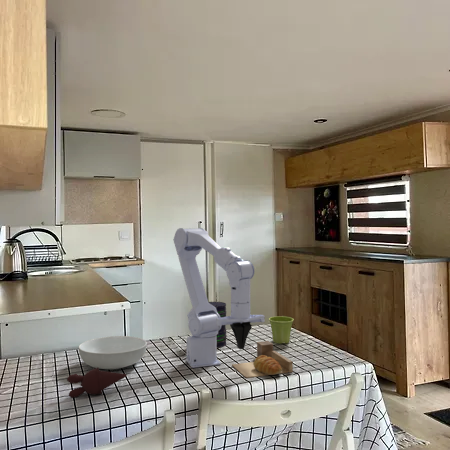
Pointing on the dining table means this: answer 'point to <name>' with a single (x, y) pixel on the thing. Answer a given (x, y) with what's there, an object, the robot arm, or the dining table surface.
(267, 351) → the walnut block
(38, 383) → the dining table surface
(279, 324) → the plant pot
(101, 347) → the serving bowl
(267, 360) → the pastry
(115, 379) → the icecream
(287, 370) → the board
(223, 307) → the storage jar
